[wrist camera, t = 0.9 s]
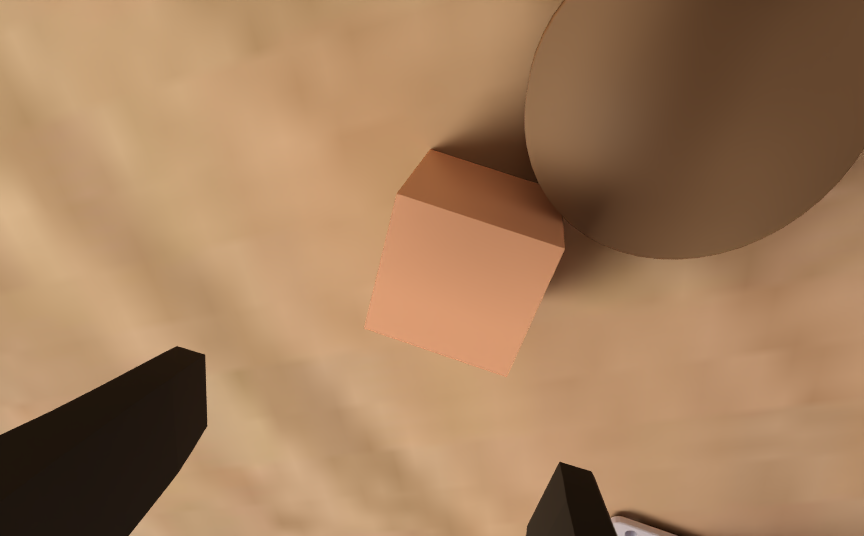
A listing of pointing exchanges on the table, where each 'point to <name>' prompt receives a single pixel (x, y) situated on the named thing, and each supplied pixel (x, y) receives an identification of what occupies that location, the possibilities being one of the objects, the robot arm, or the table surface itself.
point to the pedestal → (694, 117)
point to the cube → (465, 262)
